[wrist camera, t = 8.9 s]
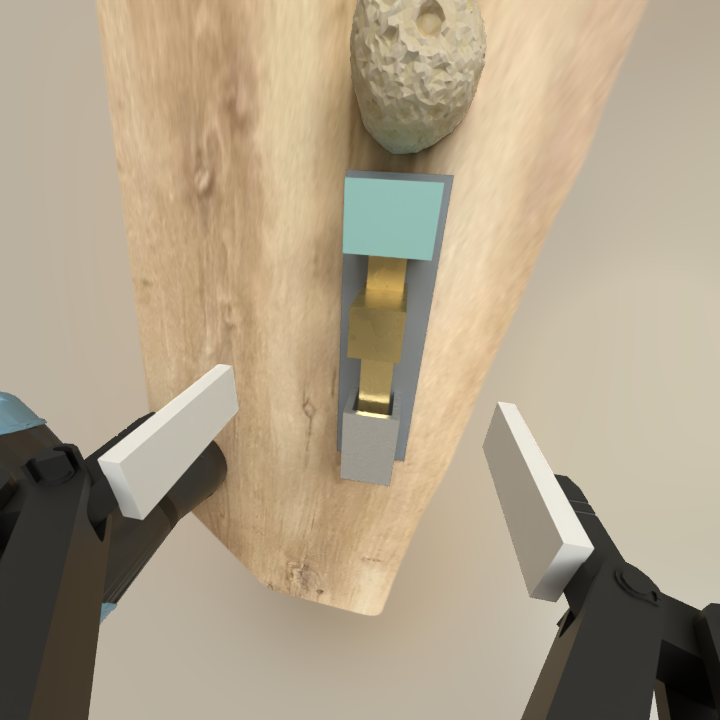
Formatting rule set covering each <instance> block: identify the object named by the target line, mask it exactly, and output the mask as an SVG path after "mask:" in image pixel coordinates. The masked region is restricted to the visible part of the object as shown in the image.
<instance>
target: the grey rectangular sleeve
mask: <svg viewBox="0 0 720 720" xmlns="http://www.w3.org/2000/svg"><path fill="white" fill-rule="evenodd" d="M358 393H359V387H356V386H352V388H351V391H350V394H349V397H348V400H347V403H346V406H345V408H344V411H343V427H342V451H341V475H340V478H344V479H350V480H355V481H361V482H367V483H373V484H378V485H384V486H390V482H391V475H392V469H393V462H394V456H395V449H396V443H397V436H398V430H399V423H400V410H401V393H400V392H395V393H394V400H393V407H392V415H391V416H389V415H382V414H375V413H368V412H361V411H357V408H358Z"/></svg>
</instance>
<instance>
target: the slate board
mask: <svg viewBox="0 0 720 720" xmlns="http://www.w3.org/2000/svg"><path fill="white" fill-rule="evenodd" d="M346 177H349V178H367V179H385V180H403V181H420V182H438V183H444V188H443V194H442V200H441V207H440V213H439V219H438V225H437V231H436V237H435V243H434V249H433V255H432V261H430V260H418V259H407V265H406V273H405V281H404V284H408V297H407V313H406V321H405V328H404V335H403V342H402V350H401V357H400V364H398V363H394V367H393V375H392V383H391V390H390V398H389V406H388V414H387V415H389V416H391V415H392V407H393V400H394V393H395V392H400V393H401V410H400V423H399V430H398V436H397V443H396V449H395V456H394V460H399V461H404V457H405V451H406V446H407V440H408V434H409V429H410V423H411V417H412V411H413V406H414V400H415V394H416V389H417V383H418V377H419V371H420V366H421V360H422V354H423V349H424V343H425V337H426V331H427V326H428V320H429V314H430V309H431V303H432V297H433V291H434V286H435V280H436V274H437V269H438V263H439V257H440V251H441V246H442V240H443V234H444V229H445V223H446V217H447V211H448V206H449V200H450V194H451V189H452V183H453V177H454V175H437V174H418V173H399V172H380V171H361V170H346ZM368 260H369V255H360V254H348V253H343V276H342V307H341V338H340V368H339V399H338V430H337V451H342V427H343V411H344V408H345V406H346V403H347V400H348V397H349V394H350V391H351V388H352V386H356V387H359V388H360V374H361V359H358V358H350V357H347V352H348V330H349V308H350V305H351V304H352V302H353V301H354V299H355V298H356V296H357V295H358V293H359V291H360V290H361V288H362V287H363V285H364V284H365V282H366V281H367V274H368ZM358 402H359V393H358ZM357 411H358V408H357Z"/></svg>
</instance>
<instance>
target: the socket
mask: <svg viewBox="0 0 720 720" xmlns="http://www.w3.org/2000/svg"><path fill="white" fill-rule="evenodd" d="M443 188H444V183H438V182H420V181H403V180H385V179H367V178H349V177H345V189H344V221H343V253H348V254H360V255H372V256H383V257H395V258H407V259H418V260H430V261H432V255H433V249H434V243H435V237H436V231H437V225H438V219H439V213H440V207H441V200H442V194H443Z"/></svg>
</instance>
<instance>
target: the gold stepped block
mask: <svg viewBox="0 0 720 720" xmlns="http://www.w3.org/2000/svg"><path fill="white" fill-rule="evenodd" d="M406 265H407V258H395V257H383V256H372V255H369V260H368V274H367V281H366V282H365V284H364V285H363V287H362V288H361V290H360V291H359V293H358V295H357V296H356V298H355V299H354V301H353V302H352V304H351V305H350V308H349V330H348V352H347V357H350V358H358V359H361V374H360V388H359V402H358V411H361V412H368V413H375V414H382V415H387V414H388V406H389V398H390V390H391V383H392V375H393V367H394V363H398V364H400V357H401V350H402V342H403V335H404V328H405V321H406V313H407V297H408V284H404V281H405V273H406Z"/></svg>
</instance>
